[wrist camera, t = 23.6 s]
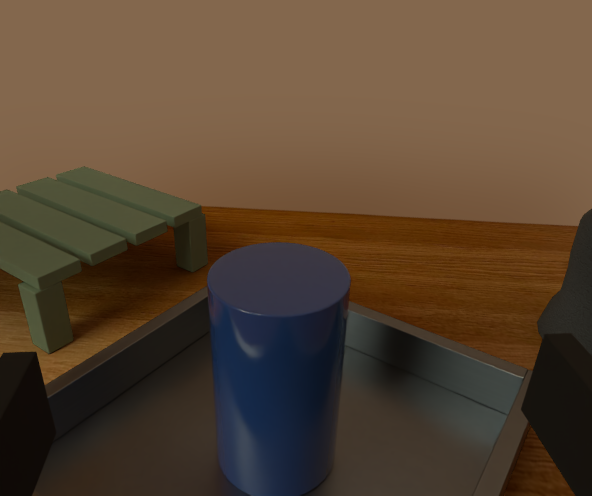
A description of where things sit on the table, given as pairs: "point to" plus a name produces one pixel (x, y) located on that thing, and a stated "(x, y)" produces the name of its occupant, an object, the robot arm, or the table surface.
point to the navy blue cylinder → (277, 364)
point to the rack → (84, 237)
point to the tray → (351, 424)
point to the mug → (574, 292)
